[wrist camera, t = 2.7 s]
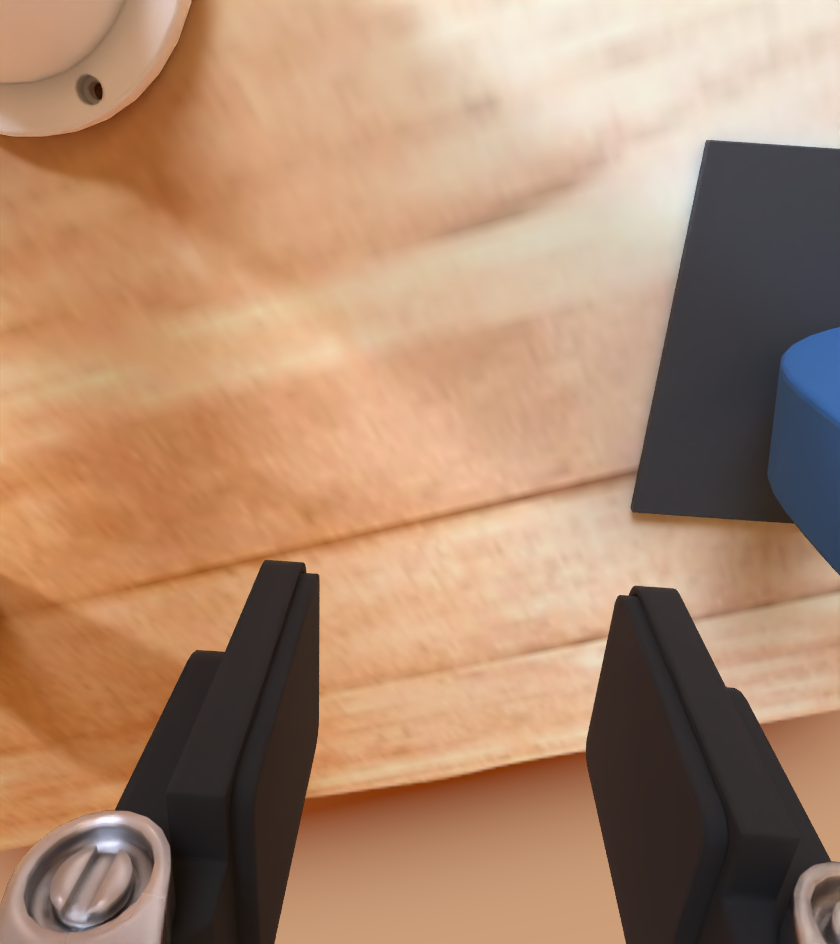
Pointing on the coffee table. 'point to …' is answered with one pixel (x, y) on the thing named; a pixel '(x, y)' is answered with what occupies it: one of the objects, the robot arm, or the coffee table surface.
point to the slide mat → (739, 326)
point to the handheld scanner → (809, 441)
